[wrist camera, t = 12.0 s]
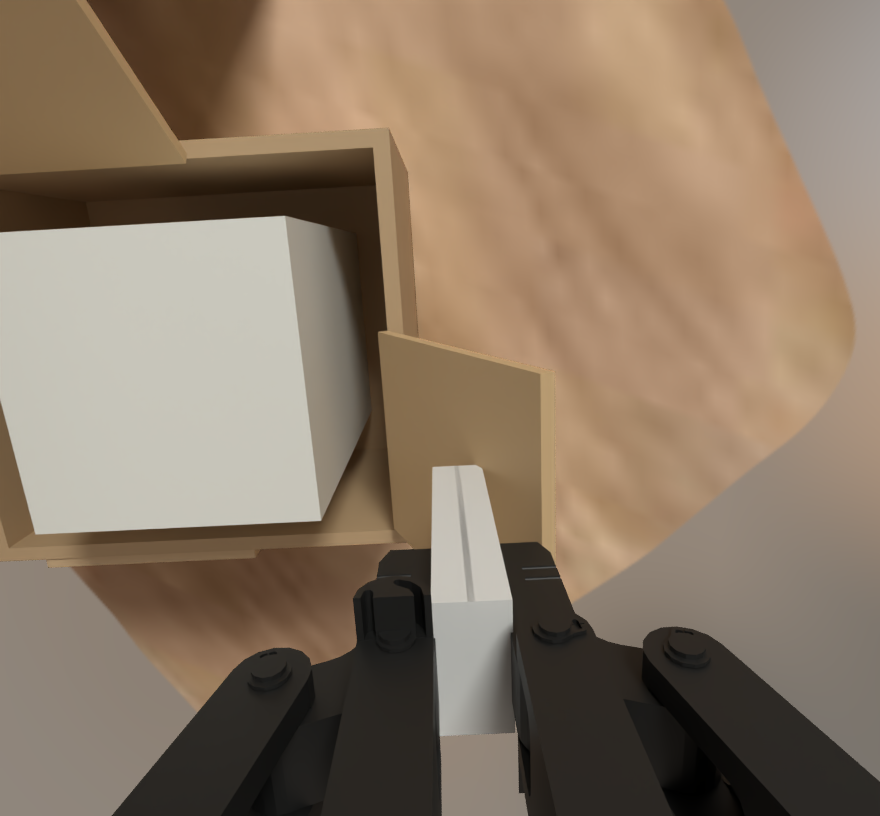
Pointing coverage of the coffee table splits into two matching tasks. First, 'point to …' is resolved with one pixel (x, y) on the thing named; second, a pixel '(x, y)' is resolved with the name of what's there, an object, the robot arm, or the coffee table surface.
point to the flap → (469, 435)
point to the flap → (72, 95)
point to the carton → (202, 350)
